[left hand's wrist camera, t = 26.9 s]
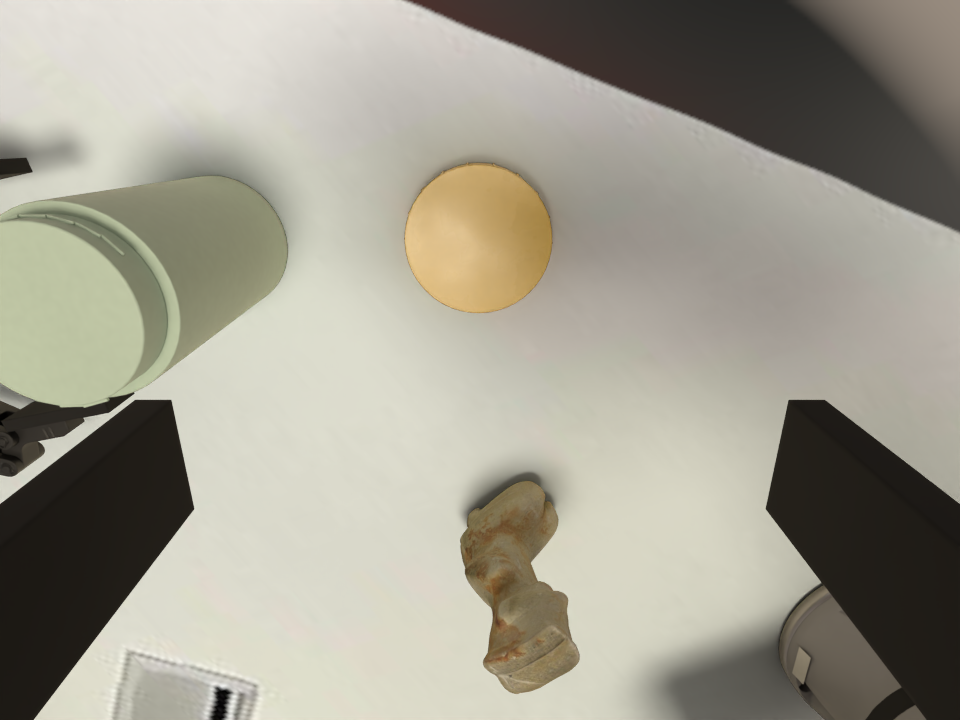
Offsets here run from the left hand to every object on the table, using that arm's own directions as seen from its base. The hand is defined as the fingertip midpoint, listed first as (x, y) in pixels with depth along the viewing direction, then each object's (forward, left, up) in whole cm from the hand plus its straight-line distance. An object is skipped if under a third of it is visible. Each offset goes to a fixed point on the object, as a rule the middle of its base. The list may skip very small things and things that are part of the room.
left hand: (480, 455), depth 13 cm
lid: (0, 0, -26) cm, 26 cm away
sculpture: (-9, +19, -28) cm, 35 cm away
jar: (+16, +6, -28) cm, 32 cm away
